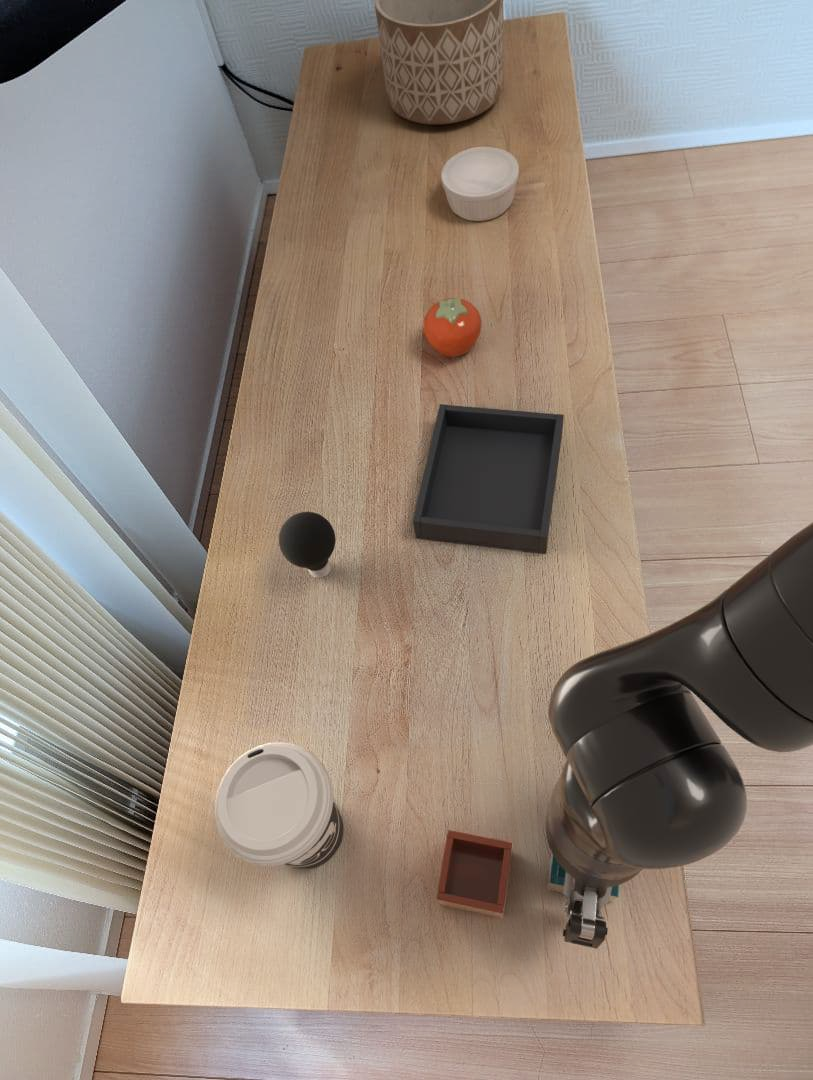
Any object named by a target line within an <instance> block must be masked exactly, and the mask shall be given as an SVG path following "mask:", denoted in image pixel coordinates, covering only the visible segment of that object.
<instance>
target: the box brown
mask: <svg viewBox="0 0 813 1080" xmlns="http://www.w3.org/2000/svg"><path fill="white" fill-rule="evenodd" d="M512 857H513V842H512V841H507V840H502V839H497V838H491V837H486V836H481V835H476V834H471V833H466V832H461V831H457V830H450V829H448V830H447V834H446V838H445V845H444V851H443V855H442V861H441V869H440V875H439V881H438V887H437V893H436V898H435V899H436V901H437V902H438V903H439V905H440V906H444V907H449V908H452V909H459V910H462V911H467V912H472V913H477V914H481V915H486V916H490V917H495V918H499V919H504V918H505V911H506V902H507V896H508V895H507V894H508V887H509V878H510V873H511V872H510V871H511V865H512Z"/></svg>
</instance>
